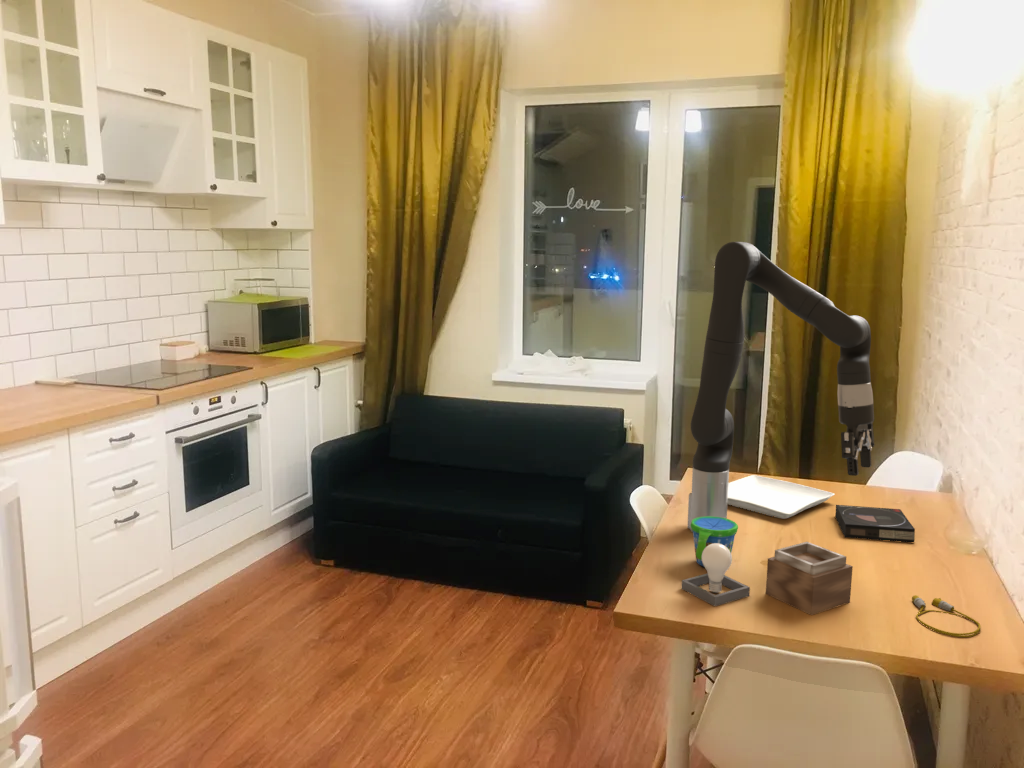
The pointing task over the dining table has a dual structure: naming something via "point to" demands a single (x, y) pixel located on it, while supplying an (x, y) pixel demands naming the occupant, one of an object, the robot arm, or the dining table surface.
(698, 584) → the frame
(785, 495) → the square plate
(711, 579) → the lightbulb
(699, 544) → the snack cup
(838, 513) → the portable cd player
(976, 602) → the dining table surface
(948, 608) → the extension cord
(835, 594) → the walnut stand
